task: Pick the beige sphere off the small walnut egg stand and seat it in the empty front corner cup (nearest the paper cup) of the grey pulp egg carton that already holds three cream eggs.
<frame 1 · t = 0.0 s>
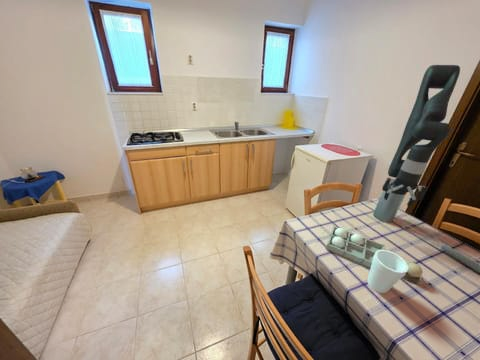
hand: (396, 202, 90), 17 cm above the table, tool pointing down, fingers open, 8 cm apart
cream egg 1: (340, 233, 91), point 3 cm above the table, touching egg carton
cream egg 3: (356, 239, 88), point 3 cm above the table, touching egg carton
cream egg 2: (338, 242, 86), point 3 cm above the table, touching egg carton
foam cup: (377, 285, 72), on the table
egg carton: (353, 249, 87), on the table
beige sphere: (413, 269, 74), point 4 cm above the table, touching egg stand
kitchen whisk: (439, 249, 89), on the table
egg stand: (409, 276, 76), on the table
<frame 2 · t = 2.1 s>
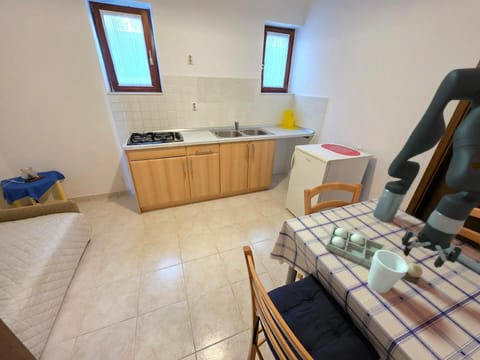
hand: (420, 260, 71), 9 cm above the table, tool pointing down, fingers open, 8 cm apart
nothing on the table moved.
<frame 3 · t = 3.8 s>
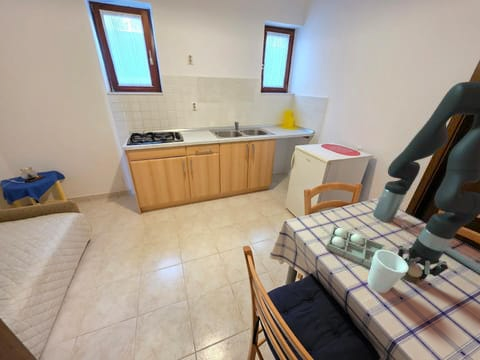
hand: (410, 274, 75), 1 cm above the table, tool pointing down, fingers closed on beige sphere, 5 cm apart
beige sphere: (413, 269, 74), point 4 cm above the table, touching egg stand, gripper
everything else where it was.
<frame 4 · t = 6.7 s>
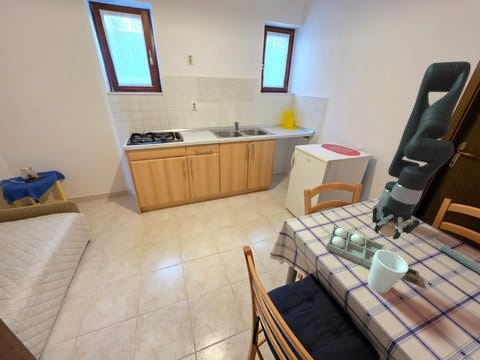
hand: (385, 234, 74), 15 cm above the table, tool pointing down, fingers closed on beige sphere, 5 cm apart
beige sphere: (387, 229, 73), point 18 cm above the table, touching gripper
everything else where it was.
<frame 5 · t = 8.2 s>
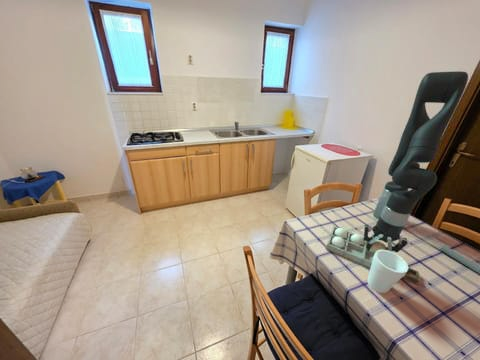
hand: (376, 252, 78), 6 cm above the table, tool pointing down, fingers closed on beige sphere, 5 cm apart
beige sphere: (378, 247, 77), point 8 cm above the table, touching gripper
when the fingers open (4 cm above the table, at t = 9.5 s): beige sphere drops 3 cm, resting on egg carton.
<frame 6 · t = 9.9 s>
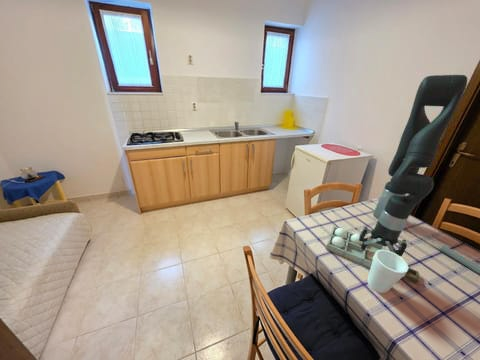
hand: (375, 254, 79), 5 cm above the table, tool pointing down, fingers open, 8 cm apart
beige sphere: (373, 257, 80), point 3 cm above the table, touching egg carton
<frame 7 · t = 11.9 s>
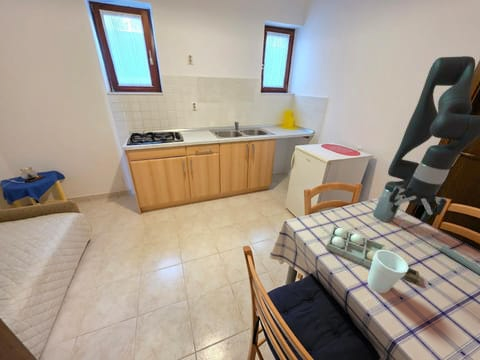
hand: (407, 216, 72), 23 cm above the table, tool pointing down, fingers open, 8 cm apart
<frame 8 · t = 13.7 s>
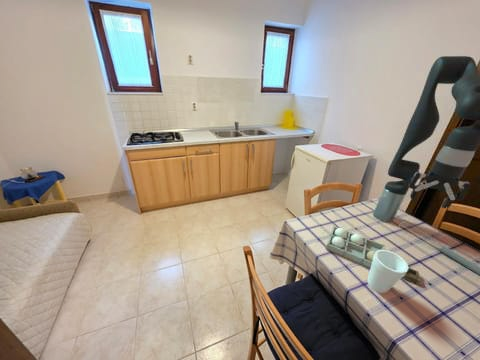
hand: (427, 203, 71), 28 cm above the table, tool pointing down, fingers open, 8 cm apart
at the end: beige sphere 0.1 cm from the target spot on the egg carton, point 3.1 cm above the egg carton's base; the gripper is holding nothing; cream egg 3 moved 0.1 cm from its start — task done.
